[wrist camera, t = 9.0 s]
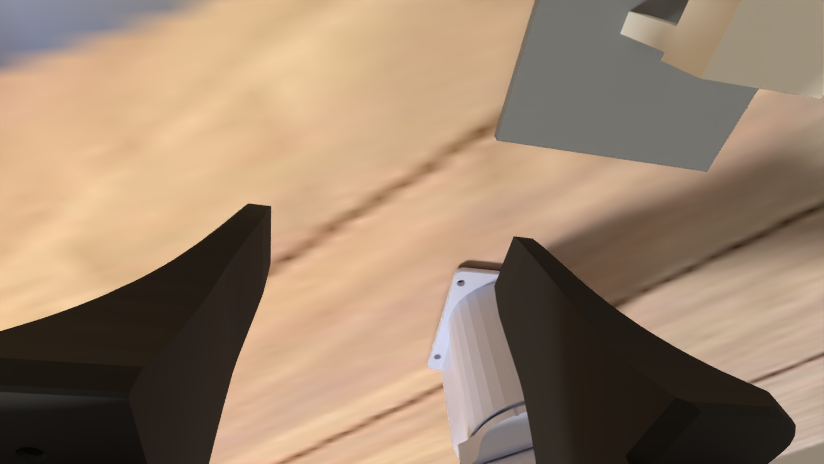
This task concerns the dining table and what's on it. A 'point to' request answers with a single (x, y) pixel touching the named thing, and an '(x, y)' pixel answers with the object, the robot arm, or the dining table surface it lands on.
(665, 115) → the mat
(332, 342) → the dining table surface
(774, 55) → the cream block with pegs
